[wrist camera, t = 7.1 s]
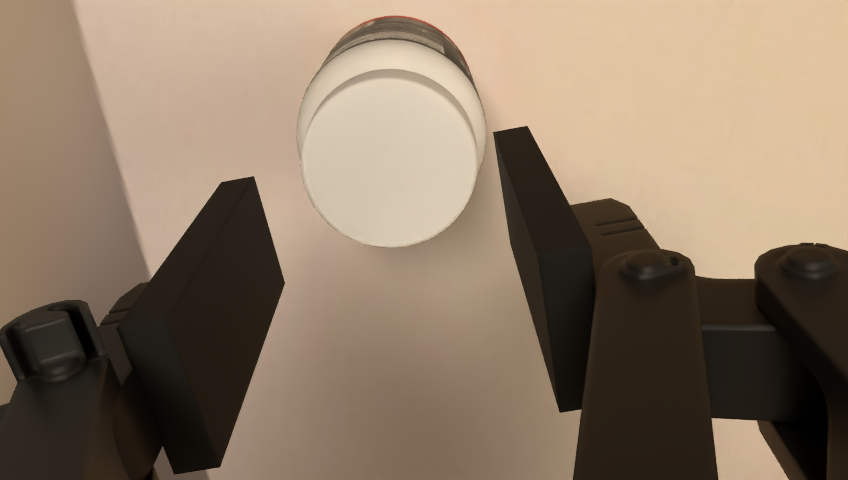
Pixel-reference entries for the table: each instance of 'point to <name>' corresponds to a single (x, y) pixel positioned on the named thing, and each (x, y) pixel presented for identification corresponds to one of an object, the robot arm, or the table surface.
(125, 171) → the table surface
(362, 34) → the pill bottle
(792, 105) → the table surface
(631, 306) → the robot arm
